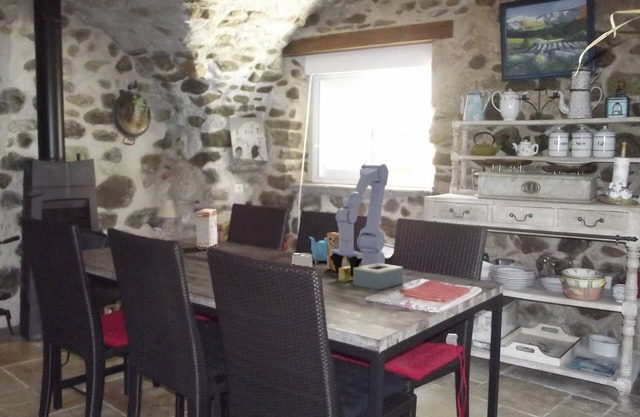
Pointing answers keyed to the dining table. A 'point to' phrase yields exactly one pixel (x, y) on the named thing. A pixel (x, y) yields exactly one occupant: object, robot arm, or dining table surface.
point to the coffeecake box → (206, 227)
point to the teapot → (319, 249)
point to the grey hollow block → (378, 276)
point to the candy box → (333, 244)
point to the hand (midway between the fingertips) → (346, 274)
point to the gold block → (345, 274)
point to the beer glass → (302, 259)
